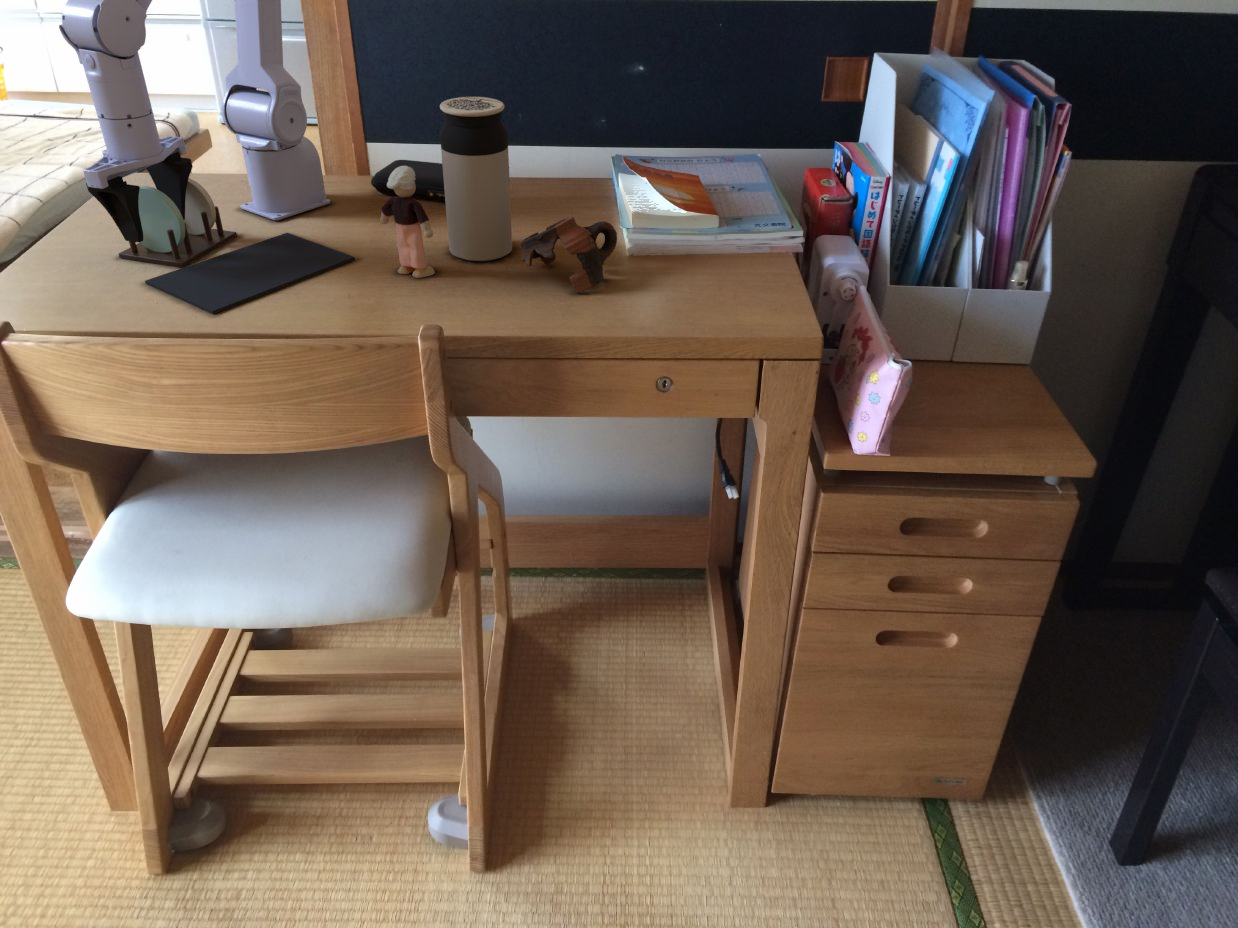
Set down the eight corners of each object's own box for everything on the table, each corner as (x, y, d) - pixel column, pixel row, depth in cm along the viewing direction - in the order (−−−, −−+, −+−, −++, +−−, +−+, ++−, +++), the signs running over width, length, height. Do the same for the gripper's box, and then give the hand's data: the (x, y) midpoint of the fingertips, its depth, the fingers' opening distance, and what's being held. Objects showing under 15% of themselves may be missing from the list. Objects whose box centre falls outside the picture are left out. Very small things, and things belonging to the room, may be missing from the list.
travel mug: (485, 268, 114) (477, 116, 104) (436, 253, 117) (423, 105, 107) (524, 248, 120) (520, 102, 109) (476, 235, 123) (467, 92, 113)
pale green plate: (136, 246, 115) (118, 182, 111) (192, 254, 114) (176, 189, 109) (131, 248, 115) (113, 184, 110) (187, 257, 113) (171, 192, 108)
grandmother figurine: (448, 270, 113) (439, 165, 106) (433, 281, 110) (422, 175, 103) (392, 260, 115) (380, 157, 108) (376, 272, 112) (362, 166, 105)
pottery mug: (560, 306, 107) (528, 240, 104) (532, 310, 115) (501, 249, 113) (643, 260, 110) (613, 195, 108) (610, 268, 119) (582, 207, 117)
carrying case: (363, 197, 134) (459, 208, 131) (361, 176, 132) (457, 187, 130) (395, 175, 143) (486, 185, 140) (393, 155, 141) (484, 165, 138)
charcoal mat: (287, 235, 121) (287, 232, 121) (355, 260, 115) (354, 256, 115) (145, 283, 108) (144, 280, 107) (213, 314, 102) (212, 311, 101)
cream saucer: (173, 229, 120) (159, 173, 116) (221, 236, 119) (209, 180, 115) (168, 231, 120) (154, 175, 116) (217, 238, 118) (204, 182, 114)
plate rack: (177, 228, 122) (169, 197, 120) (237, 236, 120) (230, 205, 118) (119, 258, 114) (109, 226, 111) (182, 267, 112) (174, 235, 109)
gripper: (138, 96, 111) (167, 206, 119) (46, 125, 100) (84, 246, 108) (189, 101, 110) (214, 213, 118) (102, 132, 98) (136, 254, 106)
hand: (155, 229), depth 113 cm, fingers open, 7 cm apart
